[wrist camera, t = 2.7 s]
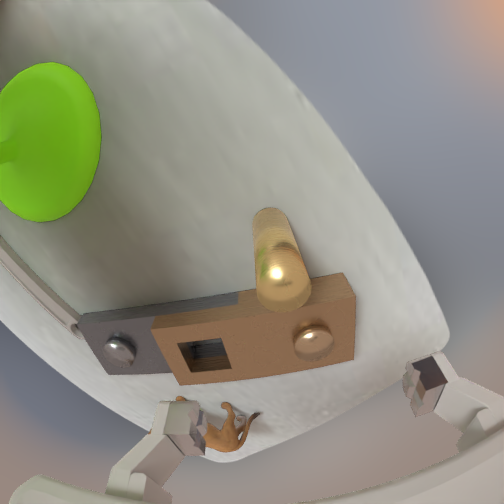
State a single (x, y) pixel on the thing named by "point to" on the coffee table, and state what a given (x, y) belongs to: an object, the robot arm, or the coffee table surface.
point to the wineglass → (47, 141)
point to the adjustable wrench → (39, 289)
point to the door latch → (226, 335)
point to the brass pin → (278, 263)
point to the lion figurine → (226, 431)
